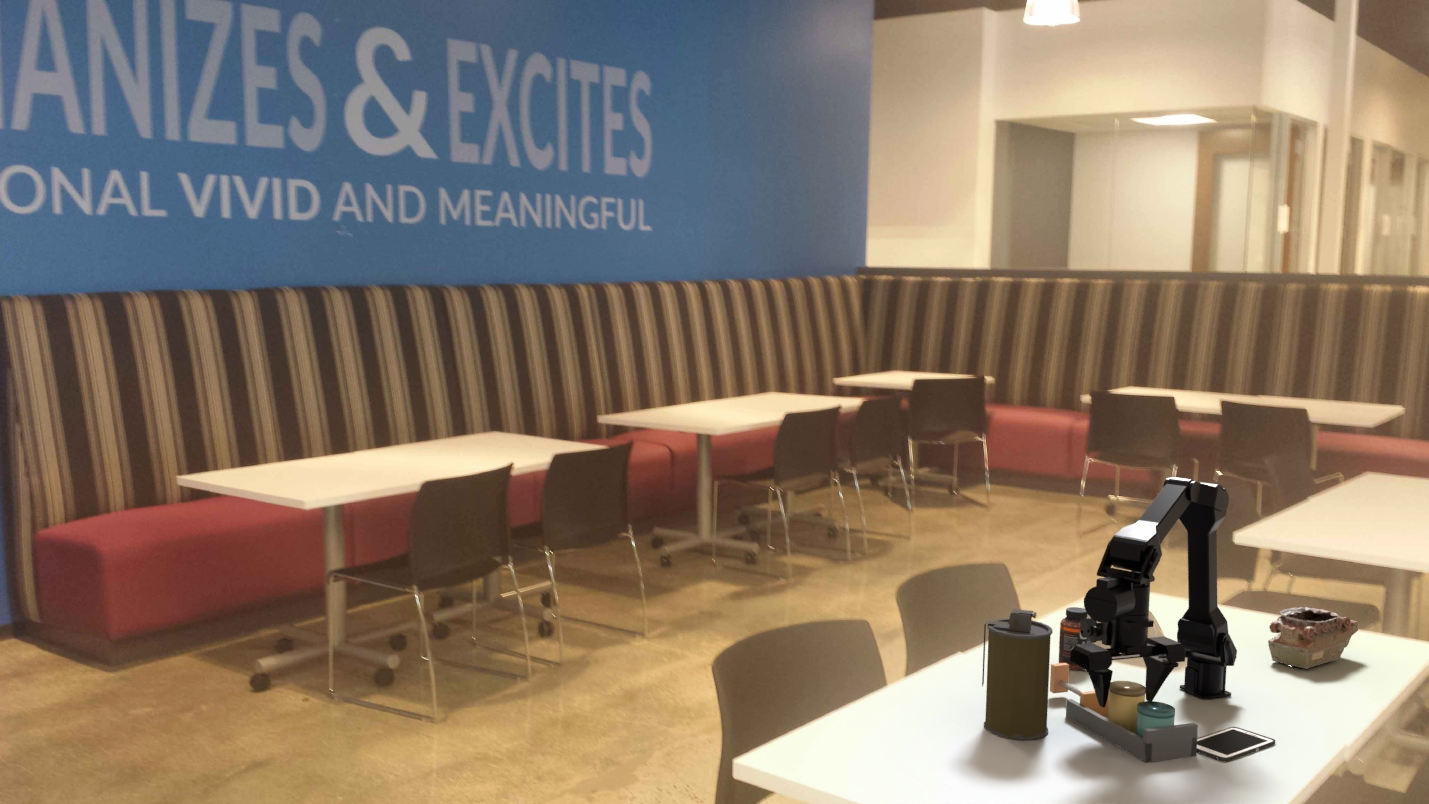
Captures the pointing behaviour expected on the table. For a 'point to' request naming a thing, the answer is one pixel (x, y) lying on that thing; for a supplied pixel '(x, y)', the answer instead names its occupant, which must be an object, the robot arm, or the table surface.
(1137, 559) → the robot arm
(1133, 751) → the lane
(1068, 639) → the supplement bottle
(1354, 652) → the table surface
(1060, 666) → the pusher
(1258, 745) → the cell phone
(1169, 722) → the jar
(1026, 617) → the canister
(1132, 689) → the ochre jar
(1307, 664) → the decorative box
